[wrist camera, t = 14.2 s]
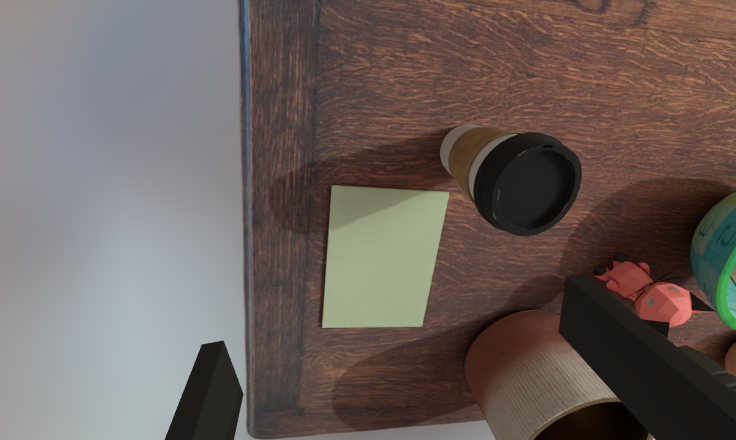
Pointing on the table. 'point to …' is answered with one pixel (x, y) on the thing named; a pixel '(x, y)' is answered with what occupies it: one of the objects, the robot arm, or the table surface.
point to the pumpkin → (731, 360)
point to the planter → (542, 385)
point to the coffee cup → (513, 176)
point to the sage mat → (381, 255)
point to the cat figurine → (651, 294)
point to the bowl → (717, 258)
